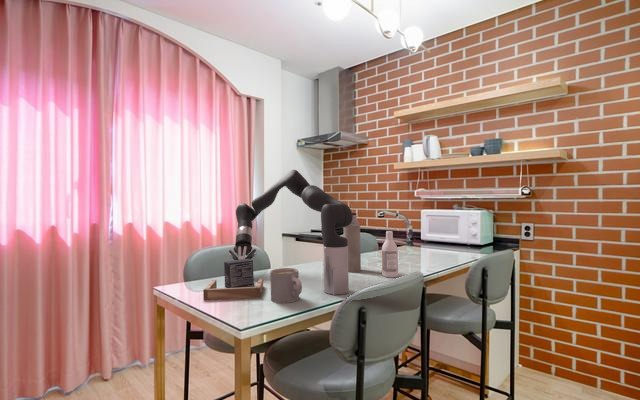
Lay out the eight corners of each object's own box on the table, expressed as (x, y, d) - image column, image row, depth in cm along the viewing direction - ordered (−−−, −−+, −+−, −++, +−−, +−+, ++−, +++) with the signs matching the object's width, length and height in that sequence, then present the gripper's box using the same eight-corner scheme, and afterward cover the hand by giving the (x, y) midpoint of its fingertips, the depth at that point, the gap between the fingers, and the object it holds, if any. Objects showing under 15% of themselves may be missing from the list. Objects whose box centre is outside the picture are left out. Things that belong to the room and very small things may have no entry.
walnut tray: (212, 288, 141) (212, 280, 141) (263, 286, 142) (262, 278, 142) (203, 299, 125) (203, 290, 125) (260, 297, 127) (259, 287, 127)
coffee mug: (266, 298, 126) (265, 270, 126) (290, 293, 131) (290, 266, 131) (283, 307, 115) (282, 276, 115) (309, 301, 120) (308, 272, 120)
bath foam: (384, 273, 162) (383, 230, 162) (399, 275, 159) (398, 230, 159) (380, 277, 155) (379, 231, 155) (396, 278, 152) (395, 232, 152)
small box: (248, 282, 151) (247, 258, 150) (254, 285, 145) (253, 260, 145) (224, 286, 145) (223, 260, 145) (229, 289, 139) (229, 263, 139)
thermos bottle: (344, 268, 175) (343, 212, 175) (360, 268, 174) (359, 212, 174) (344, 272, 167) (342, 213, 167) (360, 272, 166) (359, 213, 166)
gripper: (258, 242, 170) (257, 272, 158) (231, 243, 169) (227, 273, 157) (257, 232, 165) (255, 262, 153) (228, 233, 164) (224, 264, 151)
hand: (241, 268), depth 155 cm, fingers closed
